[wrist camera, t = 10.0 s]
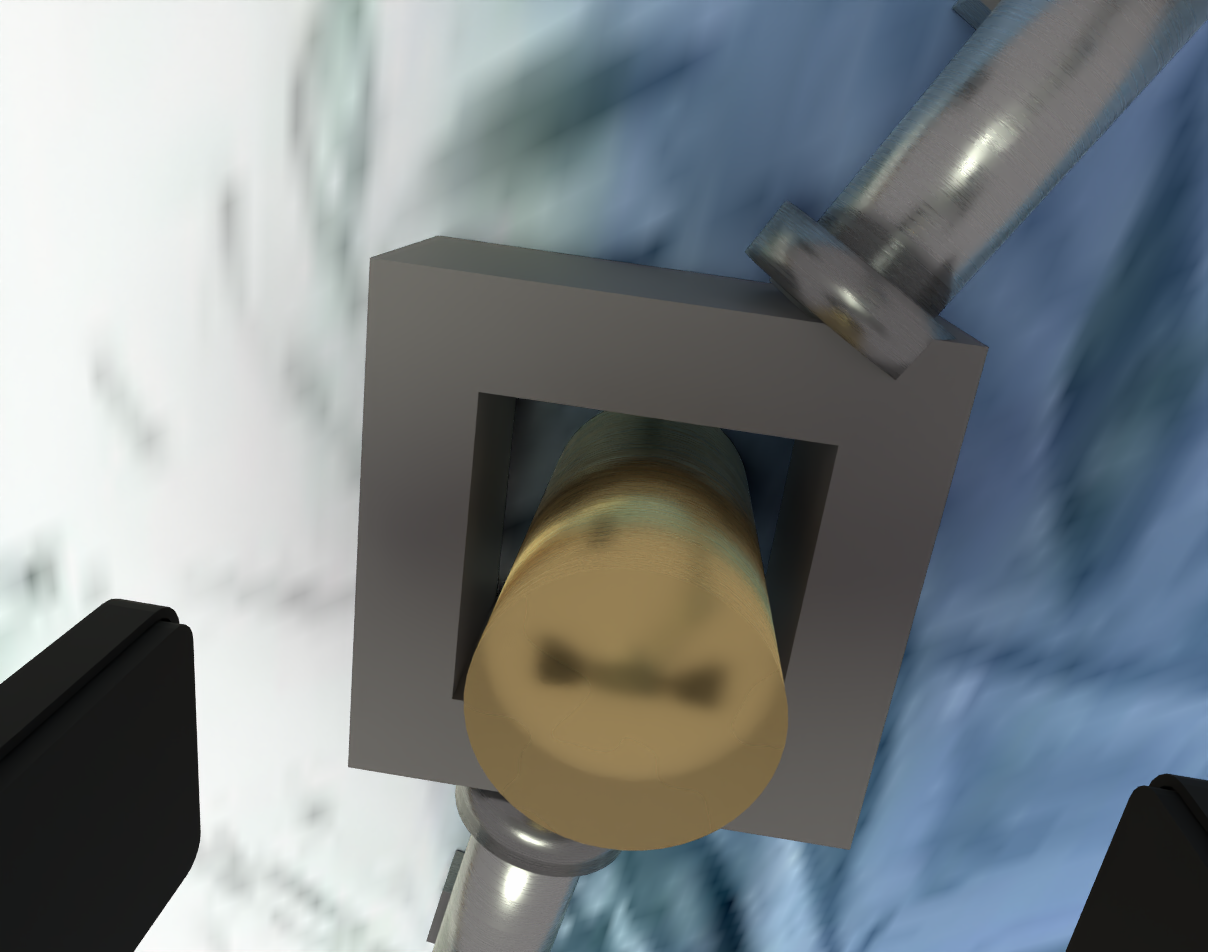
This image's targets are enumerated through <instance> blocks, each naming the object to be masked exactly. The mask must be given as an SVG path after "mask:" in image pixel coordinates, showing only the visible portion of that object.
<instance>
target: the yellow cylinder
mask: <svg viewBox="0 0 1208 952" xmlns="http://www.w3.org/2000/svg"><path fill="white" fill-rule="evenodd" d="M464 716H465V724H466V730H467V733H468V737H469V740H470V744H471V747H472V749H473V751H474V753H475V756H476V758H477V760H478V763H479V764H480V766H481V767H482V769H483V771H484V772H485V774H486V776H487V777H488V779H489V780H490V781H491V783H492V784H493V785H494V786H495V788H496V789H497V790H498V791H499V793H500V794H501V795H502V796H503V797H504V798H505V799H506V800H507V801H508V802H509V803H510V804H512V805H513V806H514V807H515V808H516V809H517V810H519V811H520V812H521V813H523V814H524V815H525V816H526V817H528V818H529V819H531V820H532V821H534V822H536V823H537V824H539V825H541V826H542V827H544V828H546V829H547V830H550V831H552V832H554V833H556V834H558V835H560V836H563V837H565V838H568V839H571V840H574V841H577V842H580V843H583V844H587V845H591V846H596V847H600V848H607V849H616V850H652V849H662V848H667V847H672V846H676V845H681V844H684V843H687V842H690V841H693V840H696V839H699V838H702V837H704V836H706V835H708V834H710V833H712V832H714V831H716V830H718V829H720V828H722V827H723V826H725V825H726V824H728V823H729V822H731V821H733V820H734V819H735V818H737V817H738V816H739V815H740V814H741V813H743V812H744V811H745V810H746V809H747V808H749V807H750V805H751V804H752V803H753V802H754V801H755V800H756V799H757V798H758V797H759V796H760V794H761V793H762V792H763V790H764V789H765V787H766V786H767V785H768V783H769V782H770V780H771V779H772V777H773V775H774V773H775V771H776V769H777V767H778V764H779V762H780V760H781V756H782V753H783V750H784V747H785V743H786V736H787V730H788V704H787V698H786V692H785V686H784V680H783V675H782V669H781V664H780V658H779V653H778V647H777V642H776V636H775V631H774V625H773V620H772V614H771V609H770V603H769V598H768V592H767V587H766V581H765V576H764V570H763V564H762V559H761V553H760V548H759V542H758V537H757V531H756V526H755V520H754V515H753V509H752V504H751V498H750V493H749V487H748V482H747V476H746V472H745V469H744V466H743V462H742V460H741V458H740V456H739V454H738V452H737V450H736V448H735V447H734V445H733V444H732V442H731V441H730V439H729V438H728V437H727V436H726V435H725V434H724V432H723V431H722V430H721V429H719V428H717V427H711V426H704V425H697V424H690V423H684V422H677V421H670V420H664V419H657V418H650V417H644V416H637V415H630V414H623V413H617V412H610V411H604V412H602V413H600V414H598V415H597V416H595V417H594V418H592V419H590V420H589V421H588V422H587V423H586V424H584V425H583V426H582V427H581V428H580V429H579V430H578V431H577V432H576V433H575V434H574V436H573V437H572V438H571V439H570V441H569V442H568V444H567V445H566V447H565V449H564V451H563V453H562V455H561V457H560V459H559V461H558V463H557V466H556V468H555V470H554V472H553V475H552V477H551V479H550V482H549V484H548V486H547V488H546V491H545V493H544V495H543V498H542V500H541V502H540V504H539V507H538V509H537V511H536V513H535V516H534V518H533V520H532V523H531V525H530V527H529V529H528V532H527V534H526V536H525V539H524V541H523V543H522V545H521V548H520V550H519V552H518V555H517V557H516V559H515V561H514V564H513V566H512V568H511V571H510V573H509V575H508V577H507V580H506V582H505V584H504V586H503V589H502V591H501V593H500V596H499V598H498V600H497V602H496V605H495V607H494V609H493V612H492V614H491V616H490V618H489V621H488V623H487V625H486V628H485V630H484V632H483V634H482V637H481V639H480V641H479V644H478V646H477V648H476V650H475V653H474V655H473V657H472V660H471V663H470V667H469V670H468V673H467V677H466V683H465V689H464Z"/></svg>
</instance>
